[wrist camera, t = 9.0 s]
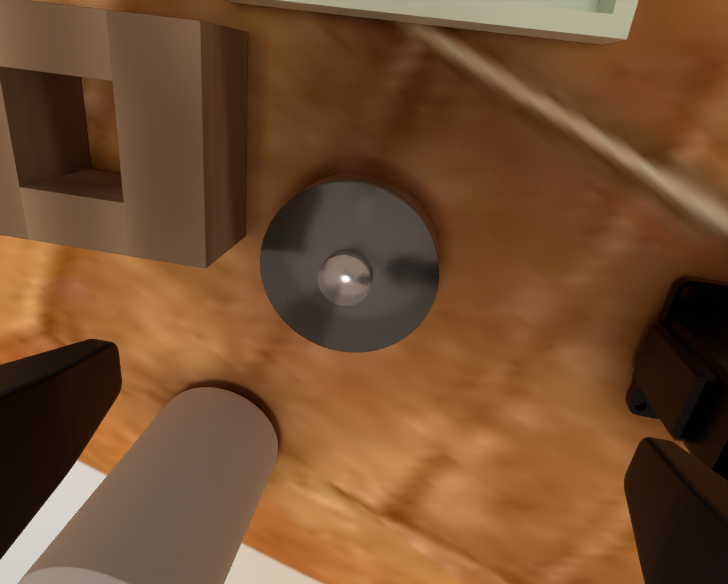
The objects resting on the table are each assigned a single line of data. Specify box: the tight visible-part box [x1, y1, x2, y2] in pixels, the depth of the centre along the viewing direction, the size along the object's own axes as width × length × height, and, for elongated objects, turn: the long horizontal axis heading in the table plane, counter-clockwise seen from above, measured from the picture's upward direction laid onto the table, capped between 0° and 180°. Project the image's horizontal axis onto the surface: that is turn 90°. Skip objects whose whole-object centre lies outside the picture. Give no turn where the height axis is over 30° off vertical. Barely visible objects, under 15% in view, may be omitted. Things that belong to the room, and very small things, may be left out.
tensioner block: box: [0, 0, 248, 268], centre depth 19 cm, size 10×8×4 cm
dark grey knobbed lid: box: [260, 171, 439, 352], centre depth 20 cm, size 7×7×3 cm
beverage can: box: [18, 387, 278, 584], centre depth 21 cm, size 6×6×12 cm
